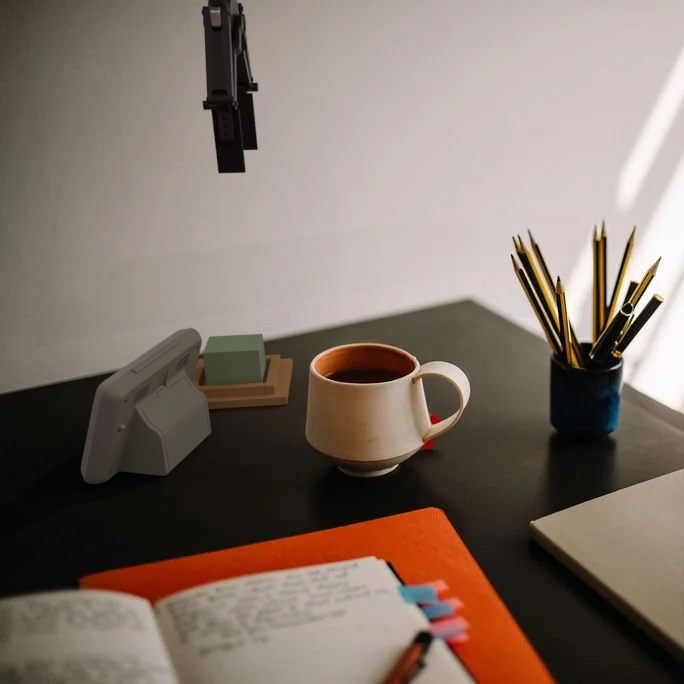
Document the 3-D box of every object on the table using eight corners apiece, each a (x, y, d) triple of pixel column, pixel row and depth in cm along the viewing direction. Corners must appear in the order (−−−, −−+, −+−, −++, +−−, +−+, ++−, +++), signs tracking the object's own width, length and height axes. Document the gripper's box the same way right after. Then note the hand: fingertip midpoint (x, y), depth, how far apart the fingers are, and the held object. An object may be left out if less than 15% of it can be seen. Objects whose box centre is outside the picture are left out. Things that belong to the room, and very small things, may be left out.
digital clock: (175, 410, 99) (162, 318, 95) (243, 425, 95) (233, 331, 91) (55, 481, 85) (33, 377, 81) (130, 501, 81) (112, 394, 77)
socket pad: (174, 411, 98) (171, 395, 97) (190, 371, 108) (188, 355, 108) (287, 404, 100) (285, 388, 99) (293, 365, 110) (291, 350, 109)
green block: (207, 389, 101) (202, 352, 99) (213, 372, 106) (209, 336, 104) (262, 386, 102) (258, 349, 100) (266, 369, 107) (262, 333, 105)
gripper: (242, -48, 83) (264, 182, 91) (265, -43, 106) (281, 141, 114) (156, -49, 82) (186, 184, 90) (198, -44, 104) (219, 142, 112)
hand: (239, 160), depth 102 cm, fingers open, 13 cm apart
